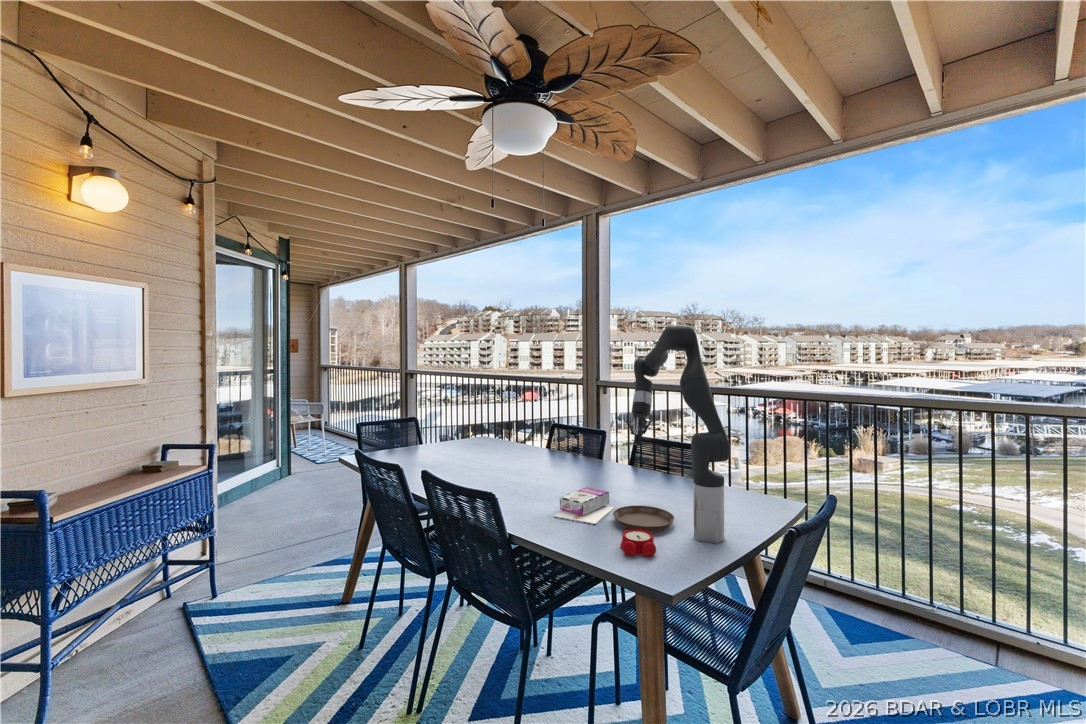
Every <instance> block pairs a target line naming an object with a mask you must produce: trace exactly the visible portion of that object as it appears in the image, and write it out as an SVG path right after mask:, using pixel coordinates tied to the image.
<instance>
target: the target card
mask: <svg viewBox="0 0 1086 724" xmlns="http://www.w3.org/2000/svg"><path fill="white" fill-rule="evenodd" d="M613 509H614V510H615V506H614V507H613V506H608V505H605V506H603V507H601V508H599V509H596V510H594V511H592V512H590V513H587V514H585V515H579V514H575V513H571V512H568V511H563V510H560V511H559V512H558V513H555V515H554V516H557V517H561V518H566V519H571V520H575V521H574V522H576V521H580V522H579V523H581V522H586V523H585V524H587V523H591V524H590V525H592V524H596V525H597V524H599V523H600V522H601V521H602V520H603V519H604V518H606V517H607V516H608V515H609V514H610V513H612V512H613V511H614V510H613ZM612 510H613V511H612ZM608 513H609V514H608ZM607 514H608V515H607ZM606 515H607V516H606ZM601 519H602V520H601ZM571 520H570V521H571ZM600 520H601V521H600ZM599 521H600V522H599Z"/></svg>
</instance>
